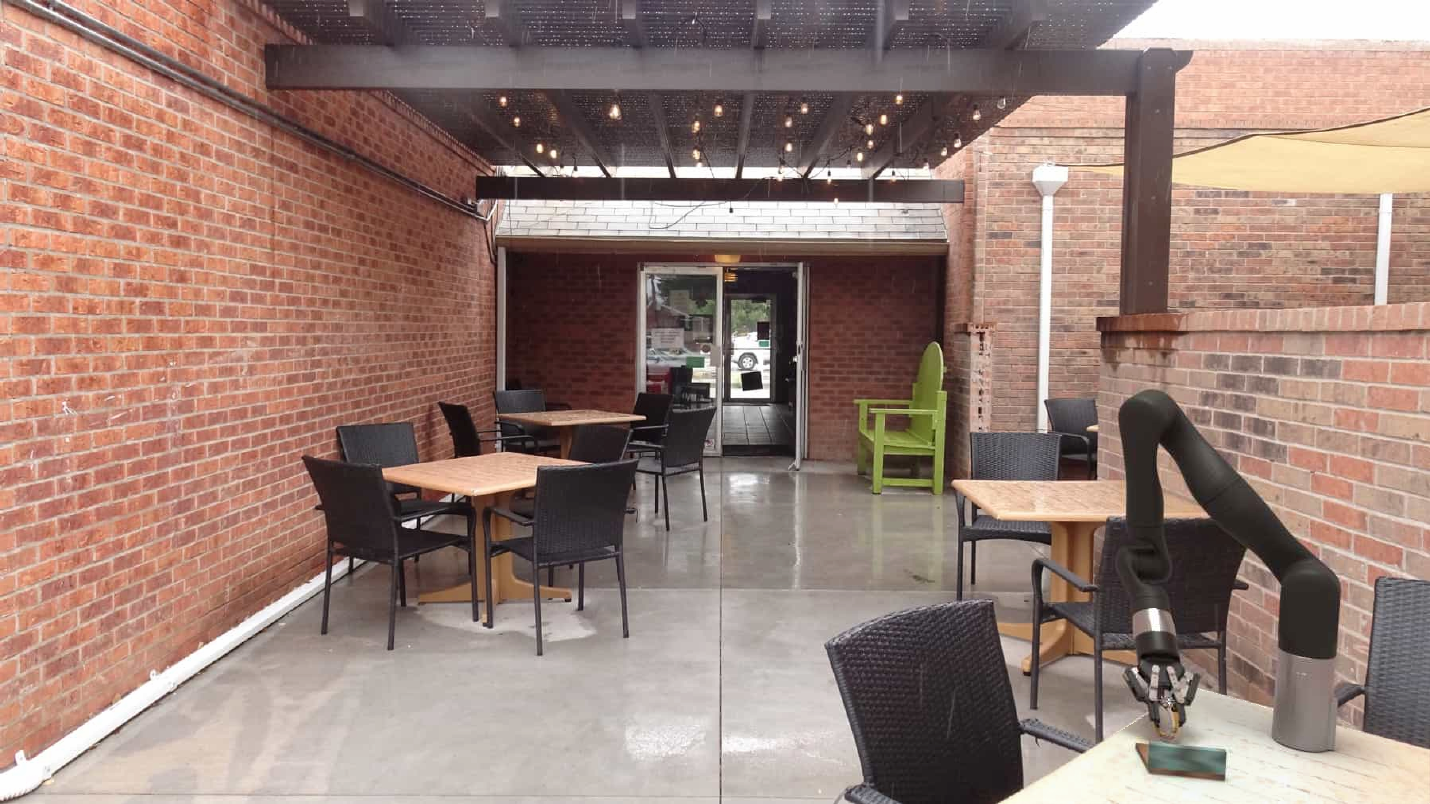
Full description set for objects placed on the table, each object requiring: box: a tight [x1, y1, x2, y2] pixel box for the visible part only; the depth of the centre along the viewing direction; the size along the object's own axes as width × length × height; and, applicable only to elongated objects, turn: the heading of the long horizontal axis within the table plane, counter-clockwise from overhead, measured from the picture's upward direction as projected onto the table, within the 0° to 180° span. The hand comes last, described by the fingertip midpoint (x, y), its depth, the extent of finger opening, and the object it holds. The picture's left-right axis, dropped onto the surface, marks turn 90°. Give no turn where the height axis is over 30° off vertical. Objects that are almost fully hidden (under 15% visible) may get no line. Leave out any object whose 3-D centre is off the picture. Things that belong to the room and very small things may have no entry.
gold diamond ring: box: [1152, 695, 1180, 741], centre depth 177 cm, size 7×3×8 cm, turn 1°
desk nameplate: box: [1135, 741, 1228, 782], centre depth 168 cm, size 12×10×5 cm
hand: (1168, 724), depth 175 cm, fingers closed on gold diamond ring, 3 cm apart
